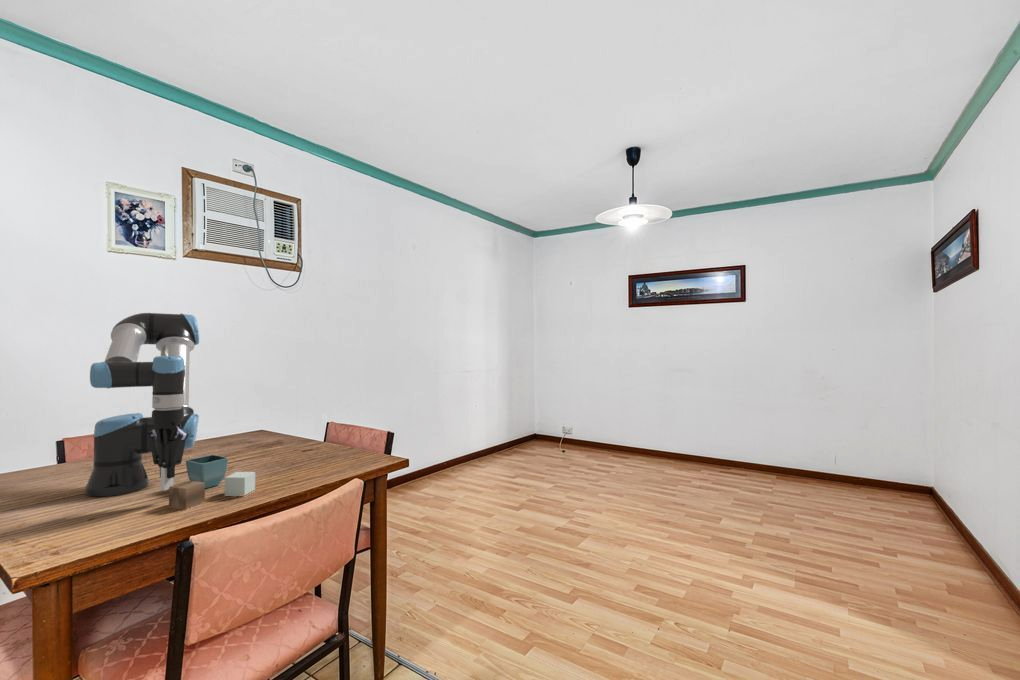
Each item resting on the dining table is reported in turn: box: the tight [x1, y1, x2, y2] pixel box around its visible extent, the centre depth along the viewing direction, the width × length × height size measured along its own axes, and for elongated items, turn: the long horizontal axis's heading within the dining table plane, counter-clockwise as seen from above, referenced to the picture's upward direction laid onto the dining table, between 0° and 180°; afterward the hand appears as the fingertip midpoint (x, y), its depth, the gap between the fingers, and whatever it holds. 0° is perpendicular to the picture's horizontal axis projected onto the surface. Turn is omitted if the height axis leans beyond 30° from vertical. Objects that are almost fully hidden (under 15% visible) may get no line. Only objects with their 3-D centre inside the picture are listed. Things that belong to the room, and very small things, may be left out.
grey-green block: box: [224, 471, 256, 497], centre depth 142 cm, size 6×6×6 cm
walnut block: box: [168, 480, 206, 511], centre depth 132 cm, size 6×6×6 cm
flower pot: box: [185, 454, 229, 489], centre depth 149 cm, size 9×9×9 cm
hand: (167, 488), depth 133 cm, fingers closed
